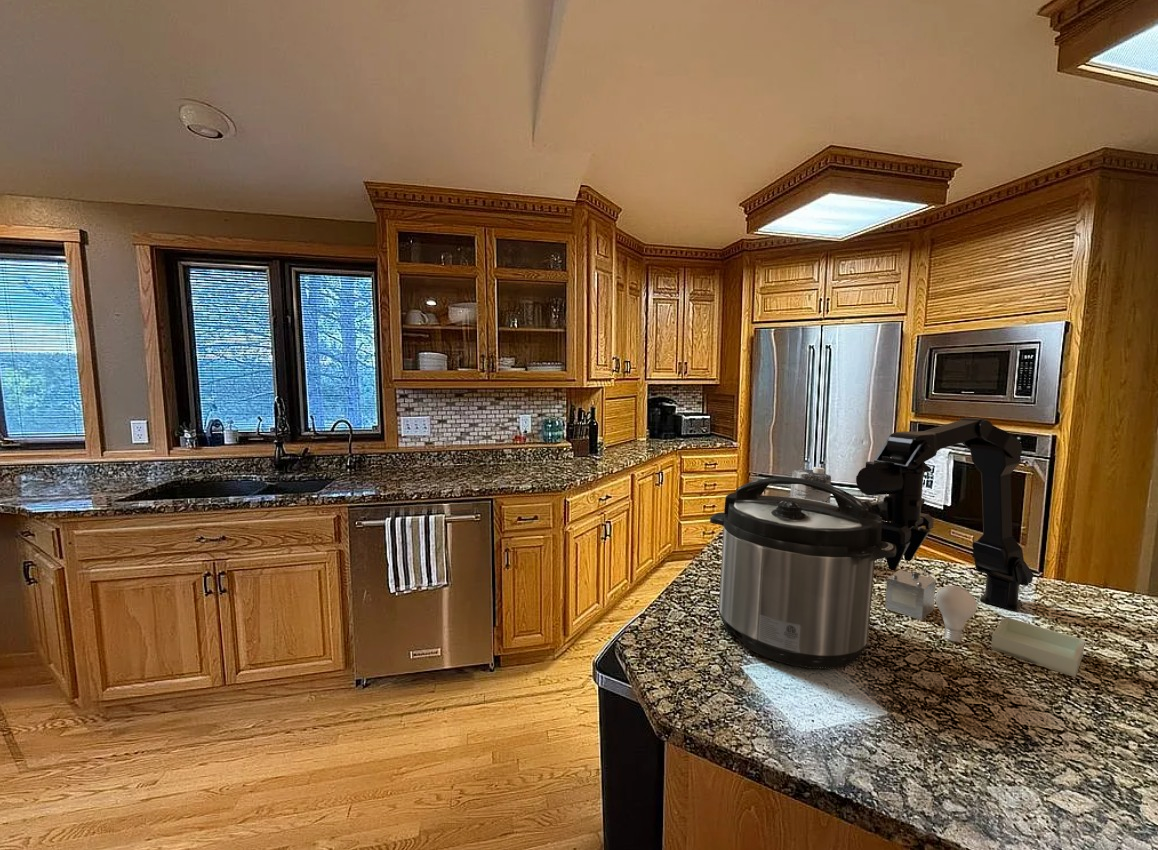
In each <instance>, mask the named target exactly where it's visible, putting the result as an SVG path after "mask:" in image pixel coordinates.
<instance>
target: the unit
mask: <svg viewBox="0 0 1158 850" xmlns="http://www.w3.org/2000/svg"><path fill="white" fill-rule="evenodd" d="M936 582H937V581H936V579H934V578H931V577H927V576H924V575H921V574H919V572H916V571H912V572H908V571H905V570H902V569H899V570H897V571H896V572H895V573H893V574H891V575H890V576H888V577H886V587H885V600H884V601H885V603H884V609H886V610H890V611H892V612H895V613H898V614H901V615H904V616H906V617H911V618H913V619H917V620H919V621H923V620H924V619H925V618H926V617H927V616H929V615H930V614H931V613H932V612H933V611H934V609H935V607H934V606H935V596H936V584H937V583H936Z"/></svg>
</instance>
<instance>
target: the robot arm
mask: <svg viewBox="0 0 1158 850" xmlns="http://www.w3.org/2000/svg"><path fill="white" fill-rule="evenodd" d="M958 444H962V445H964V446H965V447H966V448H967V449H968V450H969V451H970V457H971V462H972V464H974V466H975V467H976V469H977V470H978V471H979V472H980V475H981V476H980V477H981V495H982V496H981V498H982V501H981V502H982V526H983V527H982V529H983V530H982V531H983V532H982V535H980V537H979V539H977V540H974V541H973V542H972V545H971V546H972V557H971V558H973V560H974V565H975V569H976V571H975V572H979V573H981V574H984V575H986V579H985V590H984V591H985V592H984V594H983V595H982V596H981V597H980V598H979V601H980V602H982V603H985V604H989V605H993V606H996V607H999V608H1003V609H1007V610H1011V611H1015V612H1017V611H1019V608H1020V607H1021V606H1022V604H1023V602H1022V601H1021V600H1019V591H1020V585H1021V586H1025V587H1026V586H1027V587H1028V586H1029V585H1030V584H1032V581H1033V579H1034V575H1035V574H1034V572H1033V571H1032V570H1031V567H1029V566H1028V564H1027V563H1026V561H1025V559H1024V553H1023V552H1024V551H1023V548H1022V547H1021V545H1020V544H1019V542H1018V541H1017V540H1016V538H1015V537H1014V536H1013V517H1012V516H1013V515H1012V514H1013V509H1012V477H1011V476H1012V473H1013V472H1014V470H1016V468H1017V467H1018V466H1019V465H1020V463H1021V456H1022V452H1023V445H1022V443H1021V441H1020V439H1019V440H1018V438H1017V437H1015V436H1014V435H1013V434H1011V433H1009V432H1008V431H1006V430H1004V429H1001V428H999V427H997V426H995V425H994V424H993V423H992V422H991V421H990V420H988V419H985V418H977V417H975V418H974V417H963V418H961V419H959V420H957V421H954V422H951V423H947V424H946V423H945V424H944V425H943V424H942V425H940V426H936V427H933V428H930V429H926V430H924V431H922V430H921V431H898V432H896V431H895V432H893V433H891V434H889V436H888V439H886V441H885V443H884V445H883V446H882V447H881V449H880V451H879V452H878V454H877V455H876V457H875V458H874V460H873V461H865V467H863V468H861V469H860V470H859V471H858V473H857V475H856V477H855V483H856V486H857V489H858V490H859V491H860V492H861V493H862V494H864V495H866V496H881V495H885V496H884V497H883V500H882V501H876V502H871V501H869V500H866V501H865V500H864V501H862V502H863V503H864V504H866V505H867V506H868V509H869V512H868V513H871V514H876V515H879V516H880V517H881V518H882V531H881V541H885V542H888V543H892V544H894V545H895V546H896V555H895V557H888V558H885V560H886V563H887V568H888V570H889V571H892V572H895V571H896V570H897V568H898V566H899V565H900V563H901V561H902V559H903V558H904V561H907V562H911V561H912V559H913V558H914V557H915V556H916V554H917V552H918V550H919V549H920V548H921V546H922V544H923V542H924V541H925V540H926V538H927V537H928V535H929V533H931V529H933V528H934V521H935V519H934V518H933V517H932V516H931V515H930V514H929V513H922V512H921V510H922V505H924V504H925V503H926V502H925V500H926V499H925V498H924V497H923V487H924V486H923V483H924V473H930V472H932V468H931V467H930V466H929V465H927V464H926V462H927V461H929V460H931V459H933V458H934V457H936V456H937V455H938V454H937V453H938V451H940V450H942V449H945V448H948V447H949V448H950V447H952V446H956V445H958ZM922 497H923V498H922ZM924 527H925V528H924Z"/></svg>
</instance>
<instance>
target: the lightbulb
mask: <svg viewBox="0 0 1158 850" xmlns="http://www.w3.org/2000/svg"><path fill="white" fill-rule="evenodd" d="M934 603H935V604H936V607H937V609H938V611H939V612H940V614H941V615H942V620H943V624H944V634H943V636H944V637H945V639H947V640H948V641H950V642H951V643H958V642H961V641H962V638H963V637H962V636H963V635H962V634H963V629H964V628H965V626H966V623H967V622H968V621H969V620H970V619H971V618H973V616H974V615H975V614H976V613H977V609H978V605H977V600H976V599H975V597H974V596H973V594H972V593H971V592H970V591H968V590H967V589H966V588H964V587H962V586H958V585H945V586H943V587H941V588H939V589H938V591H937V592H935V597H934Z"/></svg>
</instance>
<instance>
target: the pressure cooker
mask: <svg viewBox="0 0 1158 850" xmlns="http://www.w3.org/2000/svg"><path fill="white" fill-rule="evenodd" d="M791 484H802V485H805V486H808V487H811V488H815V489H818V490H821V491H824V492H827V493H830V494H831V496H833V497H834V499H835V502H836V504H834V503H831V502H830V503H826V502H821V501H816V500H811V499H804V498H796V497H790V496H785V495H784V496H781V495H762V494H763V493H764V492H765V491H766V489H767V488H768V487H769V485H791ZM863 502H864V501H862V500H860V499H859V497H856V496H854V495H853V494H851V493H849V492H848V491H845V490H843V489H841V488H839V487H836V486H833V485H832V484H831V485H828V484H825V483H821V482H818V481H813V480H808V479H802V478H792V476H782V477H781V476H778V477H777V476H775V477H767V478H766V477H765V478H762V479H757V480H753V481H750V482H748V483H745V484H743V485H741V486H739V487H738V488H736V490H735V492H732V493H728V494H727V495H725V499H724V511H723V512H721V511H720V512H717V513H715V514H713V515H712V516H710V518H709V523H710V524H713V525H719V526H721V527H722V531H723V532H722V550H721V565H720V580H719V581H720V582H719V585H720V586H719V602H718V610H719V612H718V613H719V617H720V619H721V622H722V624H723V626H724V628H725V630H726V632H727V633H733V635H734V636H735V637H736V638H737V639H739V640H740V642H741V643H742V644H743V645H744V646H745V647H746V648H747V649H748V650H751V651H752V652H753V653H756V654H758V655H760V656H762V657H764V658H767V659H770V660H772V661H774V662H775V661H776V662H779V663H783V664H785V665H790V666H795V667H800V668H801V667H802V668H808V669H809V668H810V669H834V668H839V667H845V666H847V665H849V664H852V663H854V662H855V661H856V660H858V659H859V658H860V657H861V655H862V654H863V653H864V651H865V649H866V647H867V645H868V641H869V634H870V632H869V631H870V624H871V623H870V621H871V620H870V619H871V611H872V609H871V608H872V596H873V588H874V587H873V586H874V574H875V573H874V572H875V565H876V563H875V562H876V561H878V560H881V559H882V560H883V559H886V558H888V557H895V555H896V546H895V545H894V544H892V543H888V542H885V541H881V531H882V521H883V520H882V518H881V517H880V516H879V515H876V514H871V513H868V512H869V509H868V506H867V505H866V504H864V503H863Z"/></svg>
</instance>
